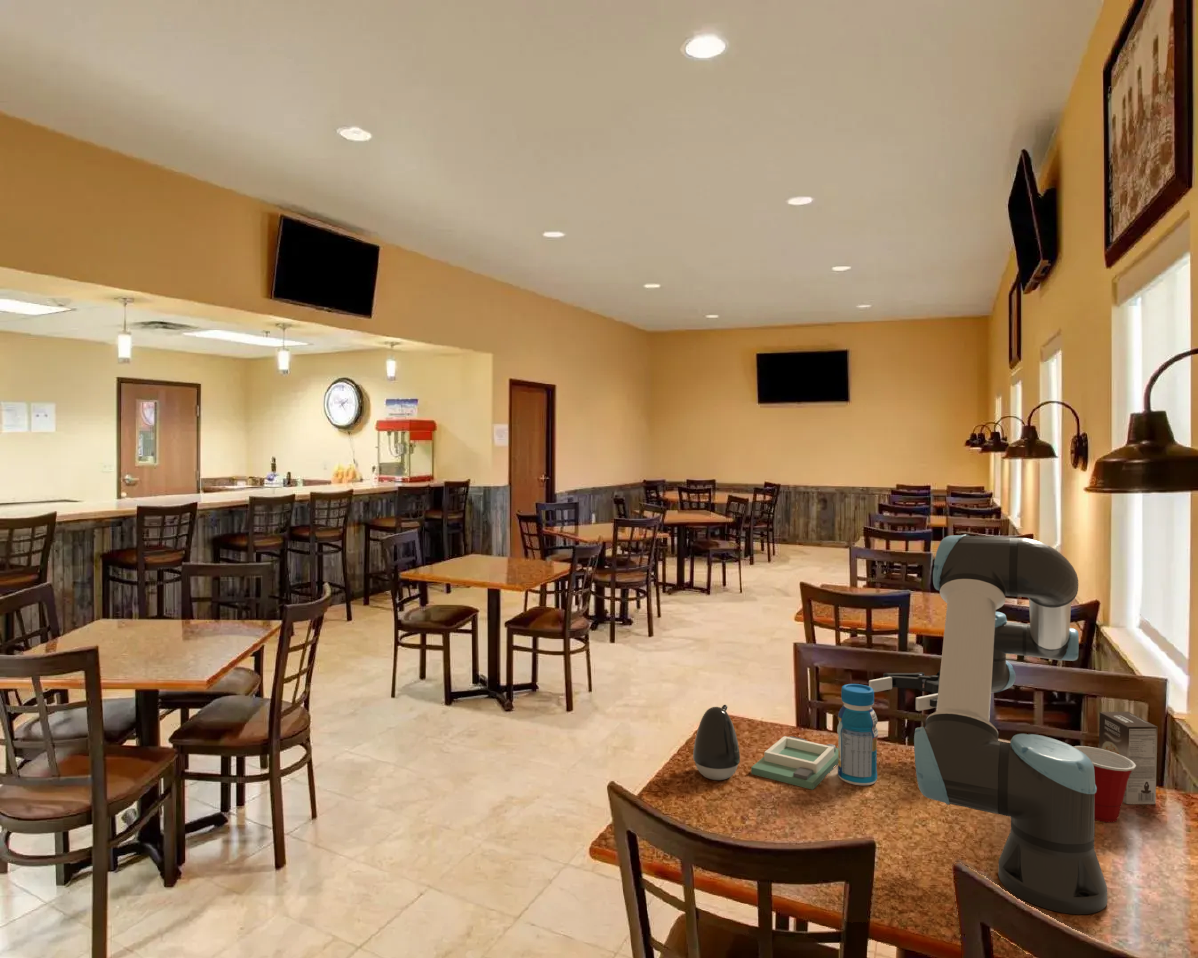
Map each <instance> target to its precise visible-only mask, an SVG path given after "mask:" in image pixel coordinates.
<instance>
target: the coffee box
mask: <svg viewBox="0 0 1198 958" xmlns="http://www.w3.org/2000/svg"><path fill="white" fill-rule="evenodd" d="M1098 719H1099V721H1098V722H1099V725H1098V728H1099V730H1098V748H1099V749H1103V750H1107V751H1110V752H1114V753H1116V754H1119V755H1122V756H1124V757H1126V758H1128V759H1130V760H1131V761H1133V762H1134V763H1135V765H1136V767H1135V768H1134V770H1132V771H1131V774H1130V776H1129V779H1128V781H1127V786H1126V790H1125V794H1124V798H1123V802H1122V803H1124V804H1125V805H1156V801H1157V796H1156V795H1157V759H1158V758H1157V757H1158V755H1157V753H1158V726H1157V725H1155V724H1152V723H1151V722H1148V721H1147V720H1145V719H1144V718H1141V717H1139V716H1138V715H1135V714H1133V713H1132V712H1130V711H1099V718H1098Z"/></svg>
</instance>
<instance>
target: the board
mask: <svg viewBox="0 0 1198 958" xmlns="http://www.w3.org/2000/svg"><path fill="white" fill-rule="evenodd" d="M836 746H837V745H835V744H832V743H828V744H822V743H817V742H813V741H808V740H807V739H805V738H802V737H798V736H792V735H790V736H786V735H784V736H782V737H781V738H780V739H779V740H777V741H776V742H774V744H773V745H771V746H770V747H768V749H766V750H765V751H764V753H763V754H764V756H763V757H762V758H760V759H759V760H758V761H757V762H756V763H755V764H753V765H752V766H751V767H750V773H751V775H754V776H757V777H763V778H766V779H770V780H774V781H778V782H782V783H786V784H789V785H793V786H796V787H800V788H804V789H809V790H812V791H813V790H815V789H816V788H817V786H819V784H820V783H822V781H823V780H824V779H825V778H826V777H827V776H828V775H829V774H830V773H831V771H832V770H834V768H835V767H836V766H838V747H836ZM835 765H836V766H835ZM834 766H835V767H834ZM833 767H834V768H833ZM828 773H829V774H828ZM827 774H828V775H827ZM826 775H827V776H826ZM825 776H826V777H825Z"/></svg>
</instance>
